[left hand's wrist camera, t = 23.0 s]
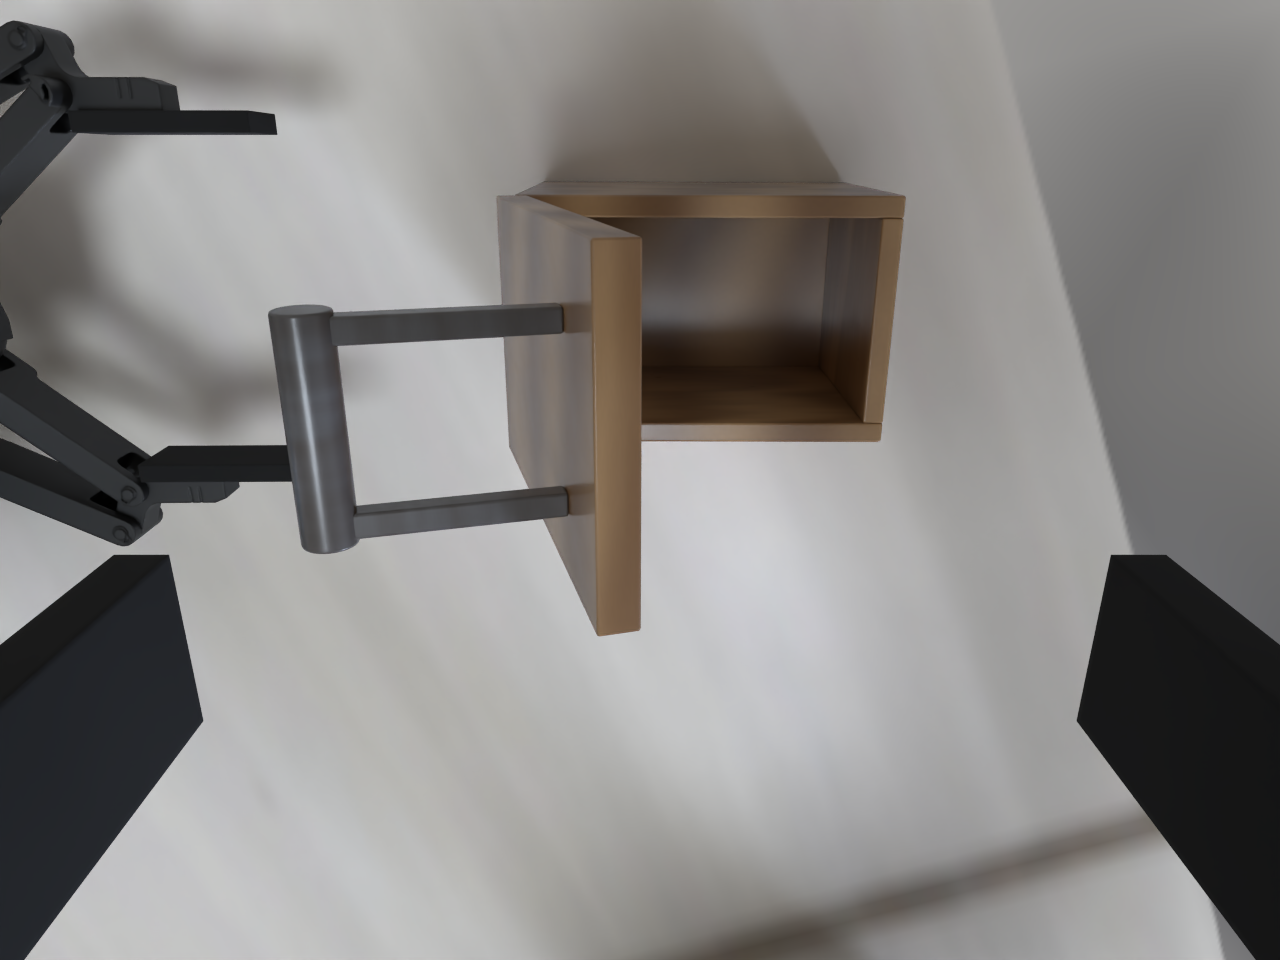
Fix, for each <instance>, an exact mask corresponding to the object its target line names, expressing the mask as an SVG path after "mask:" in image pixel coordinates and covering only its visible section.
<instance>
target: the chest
mask: <svg viewBox="0 0 1280 960" xmlns="http://www.w3.org/2000/svg"><path fill="white" fill-rule="evenodd" d="M516 195H526V196H529V197H532V198H534V199H537V200H540V201H543V202H546V203H548V204H551V205H554V206H557V207H559V208H562V209H565V210H568V211H570V212H573V213H576V214H579V215H582V216H584V217H587V218H590V219H593V220H595V221H598V222H601V223H604V224H606V225H609V226H612V227H615V228H618V229H620V230H623V231H626V232H629V233H631V234H634V235H637V236H640V237H641V238H642V403H641V441H757V442H879V441H880V440H881V431H882V421H883V412H884V403H885V393H886V384H887V374H888V364H889V355H890V345H891V336H892V326H893V316H894V307H895V297H896V288H897V278H898V268H899V259H900V249H901V240H902V230H903V219H902V218H903V217H904V210H905V201H906V197H905V196H903V195H899V194H894V193H889V192H885V191H880V190H876V189H871V188H866V187H862V186H857V185H852V184H848V183H794V182H542V183H540V184H538V185H536V186H534V187H532V188H529V189H527V190H525V191H523V192H521V193H518V194H516Z"/></svg>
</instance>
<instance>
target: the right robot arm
mask: <svg viewBox="0 0 1280 960" xmlns="http://www.w3.org/2000/svg"><path fill="white" fill-rule="evenodd" d="M73 56H74V45H73V43H72V41H71V39H70V38H69V37H68V36H67V35H66V34H65V33H63V32H61V31H58V30H54V29H50V28H45V27H41V26H37V25H33V24H28V23H24V22H20V21H10V22H7V23H6V24H4V25H2V26H1V27H0V104H1V103H3V102H5V101H6V100H8V99H10V98H11V97H13V96H15V95H16V94H18V93H20V92H21V91H23V90H24V89H26V88H27V89H26V90H25V91H24V92H23V93H22V94H21V95H20V97H19V98H18V99H17V100H16V101H15V102H14V103H13V104H12V106H11V107H10V108H9V109H8V110H7V111H6V112H5V113H4V115H3V116H2V117H1V118H0V225H1V223H2V220H1V216H2V215H3V214H4V213H5V212H6V210H7V209H8V208H9V207H10V206H11V205H12V204H13V203H14V202H15V201H16V200H17V198H18V197H19V196H20V195H21V194H22V193H23V192H24V191H25V190H26V189H27V188H28V186H29V185H30V184H31V183H32V182H33V181H34V180H35V179H36V178H37V177H38V176H39V174H40V173H41V172H42V171H43V170H44V169H45V168H46V167H47V166H48V165H49V164H50V162H51V161H52V160H53V159H54V158H55V157H56V156H57V155H58V154H59V153H60V152H61V151H62V149H63V148H64V147H65V146H66V145H67V144H68V143H69V142H70V141H71V140H72V139H73V137H74V136H75V135H76V134H77V133H90V134H108V135H277V129H276V121H275V114H269V113H262V112H255V111H202V110H180V107H179V100H178V94H177V88H176V86H174V85H172V84H169V83H167V82H164V81H162V80H156V79H150V78H145V77H88V76H87V75H85V74H84V73H83V72H82V71H81V69H80V68H79V66H78V65H77V63H76V61H75V59H74V57H73ZM11 338H13V335H12V331H11V327H10V322H9V319H8V317H7V315H6V313H5V311H4V309H3V307H2V305H1V303H0V423H1V424H3V425H4V426H6V427H7V428H9V429H10V430H12V431H13V432H15V433H16V434H18V435H19V436H20V437H22V438H23V439H25V440H26V441H28V442H29V443H31V444H32V445H34V446H35V447H37V448H38V449H40V450H41V451H43V452H44V453H46V454H47V455H49V456H50V457H52V458H53V459H55V460H56V461H55V460H53V459H50V458H48V457H45V456H43V455H41V454H38V453H36V452H33V451H31V450H29V449H26V448H24V447H21V446H19V445H17V444H14V443H12V442H9V441H7V440H4V439H1V438H0V497H1V498H3V499H6V500H8V501H10V502H13V503H15V504H18V505H20V506H23V507H25V508H28V509H30V510H33V511H35V512H38V513H40V514H42V515H45V516H47V517H50V518H52V519H55V520H57V521H60V522H62V523H65V524H67V525H70V526H72V527H74V528H77V529H79V530H82V531H84V532H87V533H89V534H92V535H94V536H97V537H99V538H101V539H104V540H106V541H109V542H111V543H114V544H116V545H120V546H129V545H130V544H132V543H134V542H135V541H136V540H137V539H139V538H140V537H141V536H143V535H144V534H145V533H146V532H148V531H149V530H150V529H152V528H153V527H154V526H155V525H157V524H158V523H159V522H160V521H161V520H162V517H163V512H162V509H161V508H160V505H161V503H191V502H193V503H201V502H203V503H215V502H218V501H220V500H223V499H225V498H227V497H228V496H229V495H231V494H232V493H233V492H234V491H235V490H237V489H238V488H239V487H240V486H239V482H292V477H291V470H290V463H289V456H288V450H287V445H246V446H168V447H166V448H165V449H163V450H161V451H160V452H158V453H157V454H155V455H153V456H152V457H151V456H150V455H148V454H147V453H145V452H144V451H142V450H141V449H139V448H138V447H137V446H135V445H134V444H132V443H131V442H129V441H128V440H126V439H125V438H123V437H122V436H121V435H119V434H118V433H116V432H115V431H113V430H112V429H110V428H109V427H107V426H106V425H105V424H103V423H102V422H100V421H99V420H97V419H96V418H94V417H93V416H91V415H90V414H89V413H87V412H86V411H84V410H83V409H81V408H80V407H78V406H77V405H75V404H74V403H73V402H71V401H70V400H68V399H67V398H65V397H64V396H62V395H61V394H59V393H58V392H56V391H55V390H54V389H52V388H51V387H49V386H48V385H46V384H45V383H43V382H42V381H40V380H39V379H38V378H37V372H36V371H35V369H33V368H32V367H31V366H30V365H28V364H27V363H25V362H24V361H22V360H21V359H19V358H18V357H17V356H15V355H14V354H12V353H11V352H9V351H8V350H6V349H5V348H6V344H7V340H8V339H11ZM57 461H58V462H57Z"/></svg>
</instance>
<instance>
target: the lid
mask: <svg viewBox="0 0 1280 960" xmlns="http://www.w3.org/2000/svg"><path fill="white" fill-rule="evenodd" d="M497 217H498V237H499V256H500V275H501V295H502V305H491V306H468V307H446V308H424V309H401V310H379V311H356V312H334V313H333V310H332V308H330V307H327V306H323V305H293V306H285V307H280V308H276V309H273V310H271V311H269V313H268V318H269V325H270V332H271V339H272V346H273V353H274V360H275V367H276V374H277V381H278V387H279V394H280V401H281V408H282V415H283V422H284V429H285V436H286V443H287V450H288V456H289V463H290V470H291V477H292V484H293V491H294V498H295V505H296V512H297V519H298V525H299V532H300V539H301V545H302V547H303V549H304V550H306V551H308V552H310V553H315V554H330V553H337V552H341V551H344V550H347V549H350V548H352V547H353V546H355V545H356V544H357V543H358V542H359V540H360V539H362V538H371V537H380V536H390V535H399V534H408V533H418V532H427V531H436V530H445V529H455V528H464V527H473V526H483V525H492V524H501V523H510V522H520V521H529V520H538V519H543V520H544V522H545V524H546V526H547V529H548V531H549V533H550V535H551V537H552V539H553V541H554V544H555V546H556V548H557V550H558V552H559V554H560V557H561V559H562V561H563V563H564V565H565V567H566V569H567V572H568V574H569V576H570V578H571V580H572V582H573V584H574V587H575V589H576V591H577V593H578V595H579V597H580V600H581V602H582V604H583V606H584V608H585V610H586V612H587V615H588V617H589V619H590V621H591V623H592V625H593V627H594V630H595V632H596V634H597V636H605V635H612V634H619V633H626V632H633V631H639V630H640V628H641V403H642V238H641V237H640V236H637V235H634V234H631V233H629V232H626V231H623V230H620V229H618V228H615V227H612V226H609V225H606V224H604V223H601V222H598V221H595V220H593V219H590V218H587V217H584V216H582V215H579V214H576V213H573V212H570V211H568V210H565V209H562V208H559V207H557V206H554V205H551V204H548V203H546V202H543V201H540V200H537V199H534V198H532V197H529V196H526V195H515V196H497ZM495 337H504V353H505V372H506V392H507V411H508V431H509V447H510V449H511V451H512V453H513V456H514V458H515V460H516V462H517V464H518V466H519V468H520V471H521V473H522V475H523V477H524V479H525V481H526V483H527V486H528V488H529V489H523V490H513V491H503V492H493V493H483V494H472V495H462V496H452V497H442V498H432V499H422V500H412V501H401V502H391V503H381V504H371V505H361V506H356V498H355V490H354V481H353V473H352V464H351V456H350V448H349V439H348V431H347V422H346V414H345V405H344V397H343V389H342V380H341V372H340V363H339V355H338V347H337V346H347V345H365V344H384V343H402V342H421V341H439V340H458V339H476V338H495Z"/></svg>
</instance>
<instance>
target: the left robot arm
mask: <svg viewBox="0 0 1280 960" xmlns="http://www.w3.org/2000/svg"><path fill="white" fill-rule="evenodd" d="M202 722H203V717H202V712H201V707H200V702H199V698H198V693H197V688H196V683H195V678H194V673H193V669H192V664H191V659H190V654H189V649H188V644H187V640H186V635H185V630H184V625H183V620H182V616H181V611H180V606H179V601H178V596H177V591H176V587H175V582H174V577H173V572H172V567H171V563H170V558H169V555H113V556H112V557H111V558H109V559H108V560H107V561H106V562H104V563H103V564H102V565H101V566H99V567H98V568H97V569H96V570H94V571H93V572H92V573H90V574H89V575H88V576H87V577H85V578H84V579H83V580H82V581H80V582H79V583H78V584H77V585H75V586H74V587H73V588H72V589H70V590H69V591H68V592H66V593H65V594H64V595H63V596H61V597H60V598H59V599H58V600H56V601H55V602H54V603H53V604H51V605H50V606H49V607H48V608H46V609H45V610H44V611H43V612H41V613H40V614H39V615H37V616H36V617H35V618H34V619H32V620H31V621H30V622H29V623H27V624H26V625H25V626H24V627H22V628H21V629H20V630H19V631H17V632H16V633H15V634H13V635H12V636H11V637H10V638H8V639H7V640H6V641H5V642H3V643H2V644H1V645H0V960H24V959H25V958H26V957H27V955H28V954H29V953H30V951H31V950H32V949H33V947H34V946H35V945H36V943H37V942H38V941H39V939H40V938H41V937H42V935H43V934H44V933H45V931H46V930H47V929H48V927H49V926H50V925H51V923H52V922H53V921H54V919H55V918H56V917H57V915H58V914H59V913H60V911H61V910H62V909H63V907H64V906H65V905H66V903H67V902H68V901H69V899H70V898H71V897H72V895H73V894H74V893H75V891H76V890H77V889H78V887H79V886H80V885H81V883H82V882H83V881H84V879H85V878H86V877H87V875H88V874H89V873H90V871H91V870H92V869H93V867H94V866H95V865H96V863H97V862H98V861H99V859H100V858H101V857H102V855H103V854H104V853H105V851H106V850H107V849H108V847H109V846H110V845H111V843H112V842H113V841H114V839H115V838H116V837H117V835H118V834H119V833H120V831H121V830H122V829H123V827H124V826H125V825H126V823H127V822H128V821H129V819H130V818H131V817H132V815H133V814H134V813H135V811H136V810H137V809H138V807H139V806H140V805H141V803H142V802H143V801H144V799H145V798H146V797H147V795H148V794H149V793H150V791H151V790H152V789H153V787H154V786H155V785H156V783H157V782H158V781H159V779H160V778H161V777H162V775H163V774H164V773H165V771H166V770H167V769H168V767H169V766H170V765H171V763H172V762H173V761H174V759H175V758H176V757H177V755H178V754H179V753H180V751H181V750H182V749H183V747H184V746H185V745H186V743H187V742H188V741H189V739H190V738H191V737H192V735H193V734H194V733H195V731H196V730H197V729H198V727H199V726H200V725H201V723H202ZM1077 722H1078V723H1079V725H1080V726H1081V727H1082V729H1083V730H1084V731H1085V733H1086V734H1087V735H1088V737H1089V738H1090V739H1091V741H1092V742H1093V743H1094V745H1095V746H1096V747H1097V749H1098V750H1099V751H1100V753H1101V754H1102V755H1103V757H1104V758H1105V759H1106V761H1107V762H1108V763H1109V765H1110V766H1111V767H1112V769H1113V770H1114V771H1115V773H1116V774H1117V775H1118V777H1119V778H1120V779H1121V781H1122V782H1123V783H1124V785H1125V786H1126V787H1127V789H1128V790H1129V791H1130V793H1131V794H1132V795H1133V797H1134V798H1135V799H1136V801H1137V802H1138V803H1139V805H1140V806H1141V807H1142V809H1143V810H1144V811H1145V813H1146V814H1147V815H1148V817H1149V818H1150V819H1151V821H1152V822H1153V823H1154V825H1155V826H1156V827H1157V829H1158V830H1159V831H1160V833H1161V834H1162V835H1163V837H1164V838H1165V839H1166V841H1167V842H1168V843H1169V845H1170V846H1171V847H1172V849H1173V850H1174V851H1175V853H1176V854H1177V855H1178V857H1179V858H1180V859H1181V861H1182V862H1183V863H1184V865H1185V866H1186V867H1187V869H1188V870H1189V871H1190V873H1191V874H1192V875H1193V877H1194V878H1195V879H1196V881H1197V882H1198V883H1199V885H1200V886H1201V887H1202V889H1203V890H1204V891H1205V893H1206V894H1207V895H1208V897H1209V898H1210V899H1211V901H1212V902H1213V903H1214V905H1215V906H1216V907H1217V909H1218V910H1219V911H1220V913H1221V914H1222V915H1223V917H1224V918H1225V919H1226V921H1227V922H1228V923H1229V925H1230V926H1231V927H1232V929H1233V930H1234V931H1235V933H1236V934H1237V935H1238V937H1239V938H1240V939H1241V941H1242V942H1243V943H1244V945H1245V946H1246V947H1247V949H1248V950H1249V951H1250V953H1251V954H1252V955H1253V957H1254V958H1255V959H1256V960H1280V645H1279V644H1278V643H1277V642H1275V641H1274V640H1273V639H1272V638H1270V637H1269V636H1268V635H1267V634H1265V633H1264V632H1263V631H1261V630H1260V629H1259V628H1258V627H1256V626H1255V625H1254V624H1253V623H1251V622H1250V621H1249V620H1248V619H1246V618H1245V617H1244V616H1243V615H1241V614H1240V613H1239V612H1237V611H1236V610H1235V609H1234V608H1232V607H1231V606H1230V605H1229V604H1227V603H1226V602H1225V601H1224V600H1222V599H1221V598H1220V597H1219V596H1217V595H1216V594H1215V593H1213V592H1212V591H1211V590H1210V589H1208V588H1207V587H1206V586H1205V585H1203V584H1202V583H1201V582H1200V581H1198V580H1197V579H1196V578H1195V577H1193V576H1192V575H1191V574H1190V573H1188V572H1187V571H1186V570H1184V569H1183V568H1182V567H1181V566H1179V565H1178V564H1177V563H1176V562H1174V561H1173V560H1172V559H1171V558H1169V557H1168V556H1167V555H1111V558H1110V563H1109V567H1108V572H1107V577H1106V582H1105V587H1104V591H1103V596H1102V601H1101V606H1100V611H1099V616H1098V620H1097V625H1096V630H1095V635H1094V640H1093V644H1092V649H1091V654H1090V659H1089V664H1088V669H1087V673H1086V678H1085V683H1084V688H1083V693H1082V698H1081V702H1080V707H1079V712H1078V717H1077Z"/></svg>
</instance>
